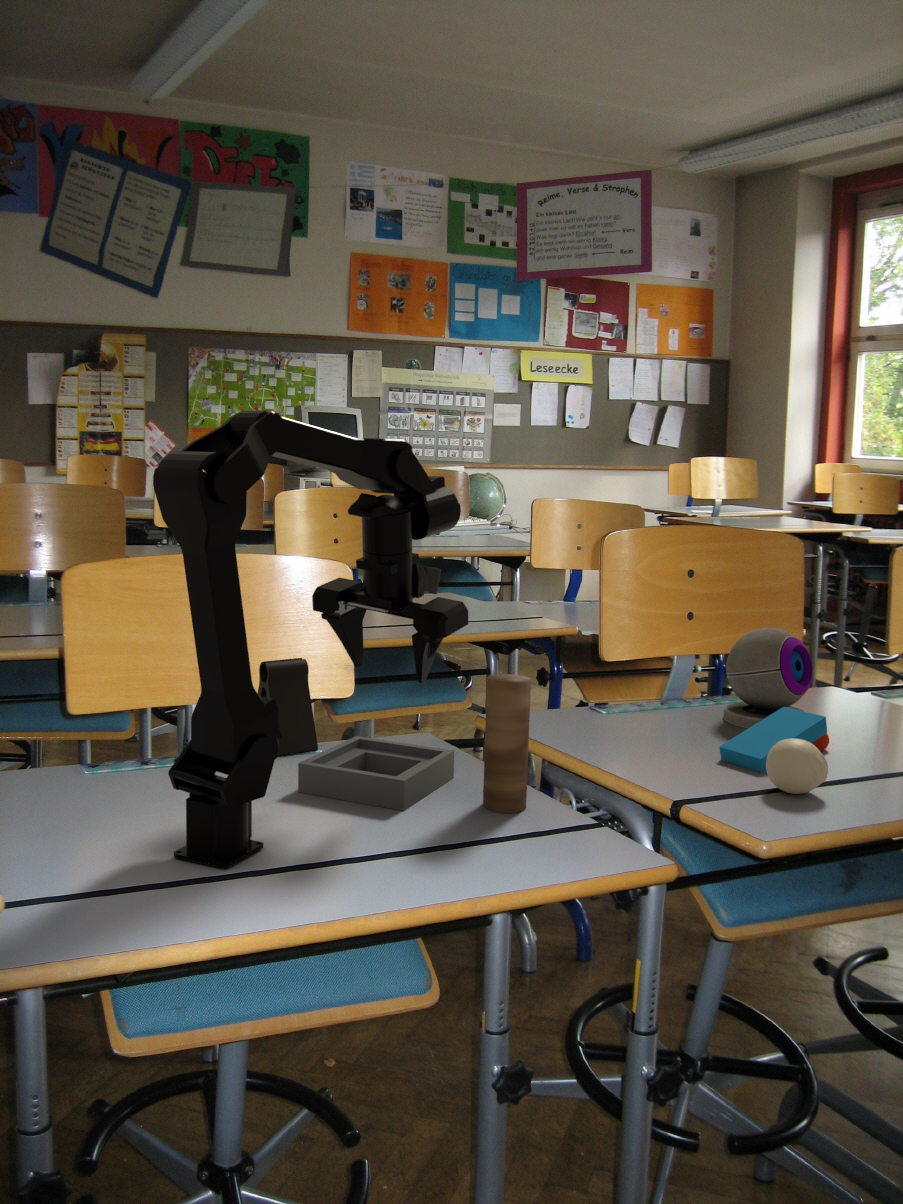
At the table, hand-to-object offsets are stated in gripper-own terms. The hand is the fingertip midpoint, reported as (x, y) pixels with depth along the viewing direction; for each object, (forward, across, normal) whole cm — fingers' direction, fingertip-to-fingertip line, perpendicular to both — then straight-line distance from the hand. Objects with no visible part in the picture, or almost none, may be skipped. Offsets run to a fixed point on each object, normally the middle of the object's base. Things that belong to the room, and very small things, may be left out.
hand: (390, 673), depth 122 cm
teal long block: (+19, -38, -40) cm, 58 cm away
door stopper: (+17, +20, -3) cm, 27 cm away
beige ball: (+16, -43, -25) cm, 52 cm away
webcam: (+23, -31, -59) cm, 70 cm away
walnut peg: (+13, -16, +1) cm, 21 cm away
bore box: (+14, 0, +3) cm, 14 cm away
